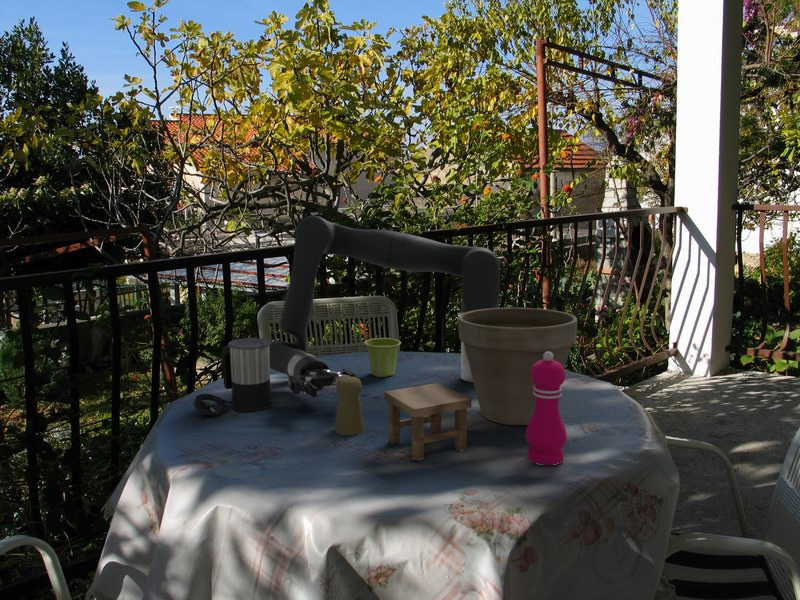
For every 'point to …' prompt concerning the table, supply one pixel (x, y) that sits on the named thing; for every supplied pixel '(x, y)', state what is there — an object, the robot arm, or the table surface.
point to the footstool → (427, 415)
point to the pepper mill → (546, 413)
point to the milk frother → (242, 377)
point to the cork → (349, 407)
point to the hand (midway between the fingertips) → (334, 389)
